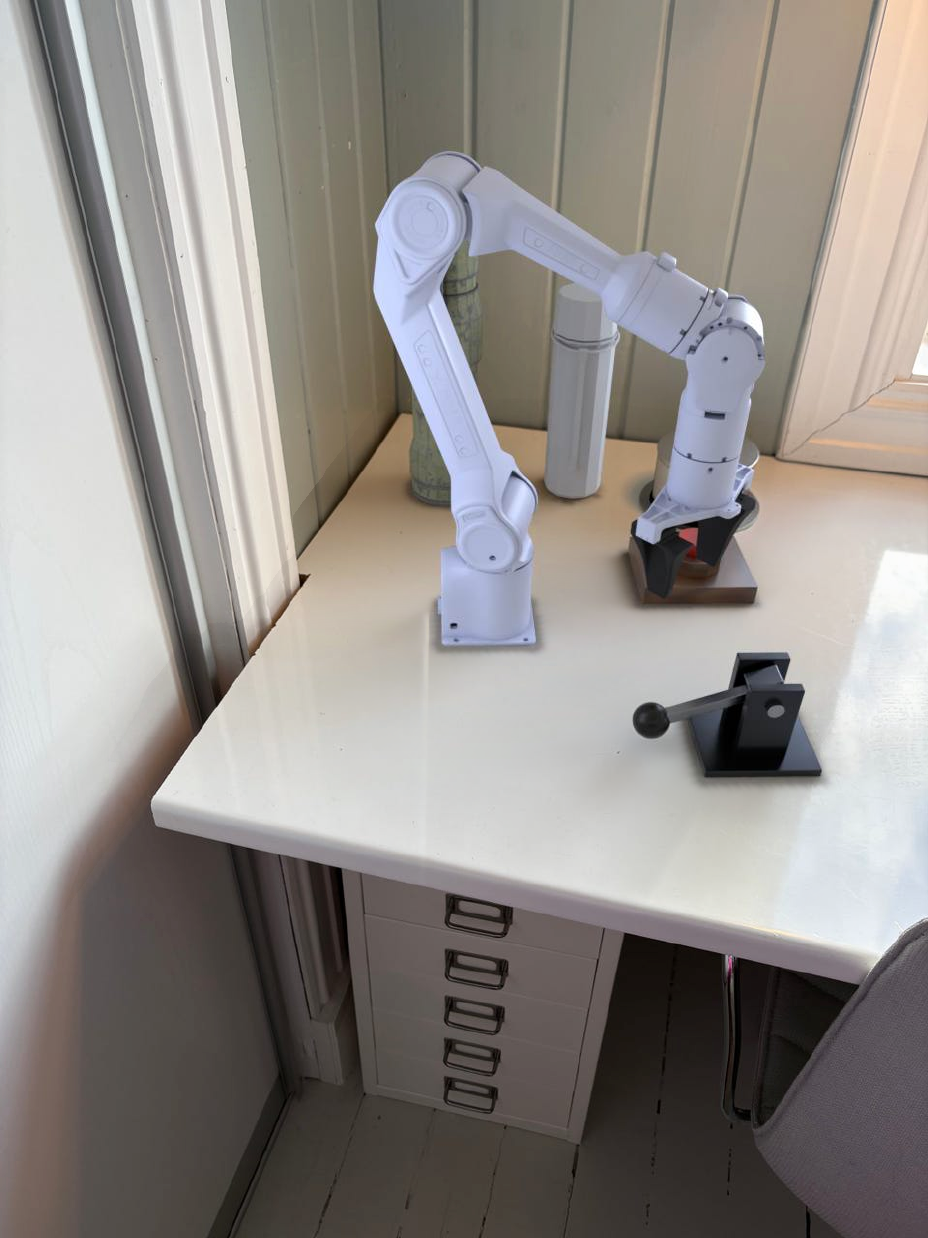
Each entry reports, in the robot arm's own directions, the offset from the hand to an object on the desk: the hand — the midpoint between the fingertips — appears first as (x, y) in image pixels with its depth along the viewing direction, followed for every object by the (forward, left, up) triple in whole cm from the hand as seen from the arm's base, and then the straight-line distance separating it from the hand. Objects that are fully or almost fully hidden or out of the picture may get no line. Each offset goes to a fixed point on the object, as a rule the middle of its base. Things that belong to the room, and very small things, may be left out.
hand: (683, 576), depth 88 cm
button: (+5, +12, -5) cm, 14 cm away
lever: (0, -14, -5) cm, 15 cm away
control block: (+4, +12, -9) cm, 16 cm away
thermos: (-23, +33, -9) cm, 40 cm away
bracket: (+4, -14, -9) cm, 17 cm away
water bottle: (-7, +31, -9) cm, 33 cm away
